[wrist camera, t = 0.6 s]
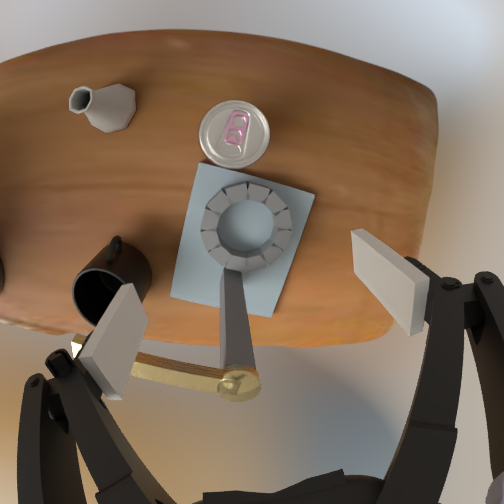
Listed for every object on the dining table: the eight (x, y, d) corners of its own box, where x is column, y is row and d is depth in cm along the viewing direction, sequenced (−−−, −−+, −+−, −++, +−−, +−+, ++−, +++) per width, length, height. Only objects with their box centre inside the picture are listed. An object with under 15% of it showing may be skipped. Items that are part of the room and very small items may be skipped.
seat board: (170, 293, 42) (142, 396, 23) (199, 162, 35) (172, 181, 16) (270, 314, 45) (298, 417, 26) (313, 193, 38) (391, 243, 19)
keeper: (252, 393, 23) (253, 403, 22) (79, 355, 20) (74, 364, 19) (264, 367, 22) (266, 377, 21) (76, 325, 19) (70, 333, 18)
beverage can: (258, 124, 34) (281, 110, 20) (245, 166, 36) (259, 179, 22) (215, 111, 33) (209, 89, 19) (201, 154, 35) (187, 159, 21)
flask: (86, 131, 32) (48, 130, 22) (97, 82, 29) (63, 68, 20) (130, 136, 33) (101, 134, 24) (143, 85, 31) (118, 68, 21)
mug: (158, 232, 38) (141, 257, 30) (149, 303, 42) (136, 339, 34) (98, 220, 37) (70, 240, 28) (96, 290, 41) (74, 322, 32)
